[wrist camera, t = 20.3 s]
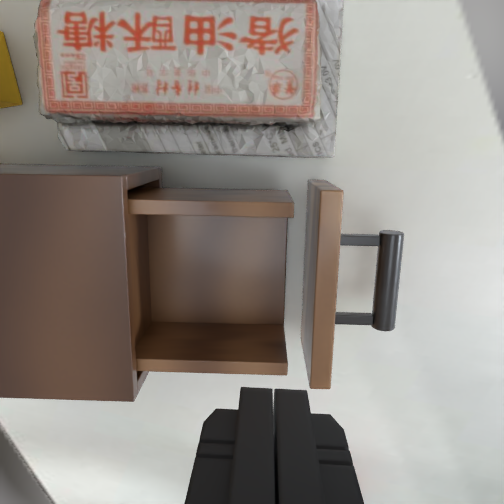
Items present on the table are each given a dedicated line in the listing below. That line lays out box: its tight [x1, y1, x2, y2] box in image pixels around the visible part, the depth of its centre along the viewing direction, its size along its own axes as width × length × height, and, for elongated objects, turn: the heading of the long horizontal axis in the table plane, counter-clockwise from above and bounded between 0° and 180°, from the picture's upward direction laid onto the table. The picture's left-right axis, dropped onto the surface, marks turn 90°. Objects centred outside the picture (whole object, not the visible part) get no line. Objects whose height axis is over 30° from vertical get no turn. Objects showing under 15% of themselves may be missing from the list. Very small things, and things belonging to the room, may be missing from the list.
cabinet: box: [0, 164, 162, 402], centre depth 28 cm, size 14×13×9 cm
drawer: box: [127, 180, 404, 389], centre depth 27 cm, size 17×11×7 cm
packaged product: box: [33, 0, 344, 158], centre depth 26 cm, size 18×5×10 cm
